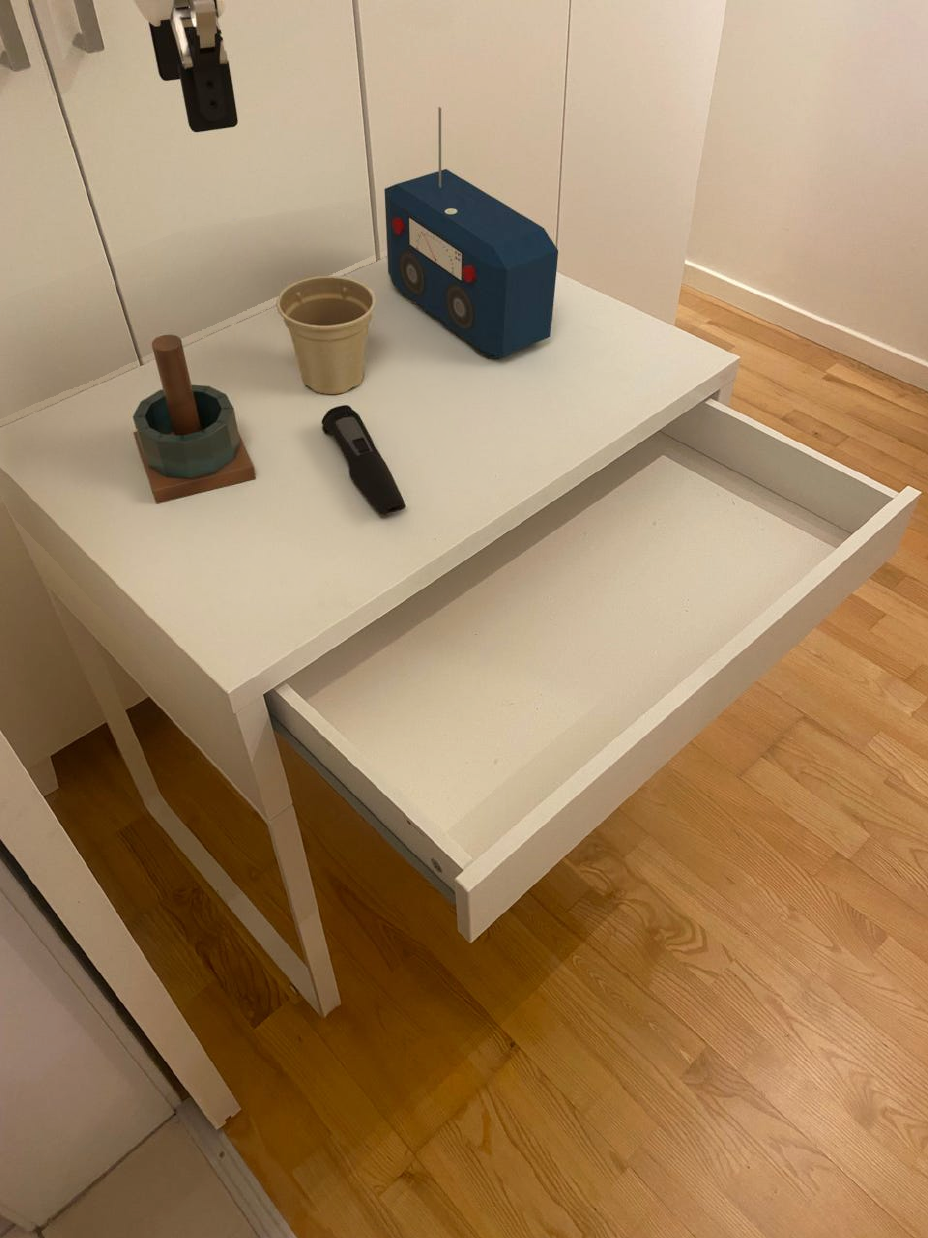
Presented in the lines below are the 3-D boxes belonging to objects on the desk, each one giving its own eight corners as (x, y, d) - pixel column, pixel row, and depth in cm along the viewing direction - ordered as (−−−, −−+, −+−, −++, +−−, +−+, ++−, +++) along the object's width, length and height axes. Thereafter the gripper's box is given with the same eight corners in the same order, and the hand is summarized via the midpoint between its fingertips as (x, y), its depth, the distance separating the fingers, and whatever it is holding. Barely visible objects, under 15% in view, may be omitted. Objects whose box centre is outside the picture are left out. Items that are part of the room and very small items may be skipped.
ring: (156, 488, 83) (145, 451, 80) (135, 433, 88) (125, 397, 85) (250, 463, 86) (243, 427, 83) (225, 411, 91) (217, 375, 88)
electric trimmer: (374, 533, 83) (373, 505, 80) (318, 428, 92) (316, 401, 89) (415, 522, 84) (414, 494, 81) (356, 419, 93) (354, 392, 90)
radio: (378, 287, 110) (368, 100, 95) (440, 264, 113) (440, 81, 98) (491, 372, 99) (499, 176, 84) (555, 345, 102) (574, 152, 87)
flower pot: (362, 343, 102) (356, 267, 95) (393, 392, 96) (390, 314, 90) (276, 362, 99) (264, 285, 93) (303, 413, 93) (292, 335, 87)
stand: (156, 504, 84) (120, 383, 75) (136, 444, 90) (101, 325, 80) (256, 479, 87) (233, 359, 77) (231, 422, 92) (207, 304, 83)
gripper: (51, -240, 59) (121, 66, 72) (98, -189, 48) (170, 158, 61) (174, -244, 61) (220, 54, 74) (244, -197, 50) (284, 141, 63)
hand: (197, 101), depth 67 cm, fingers open, 9 cm apart
